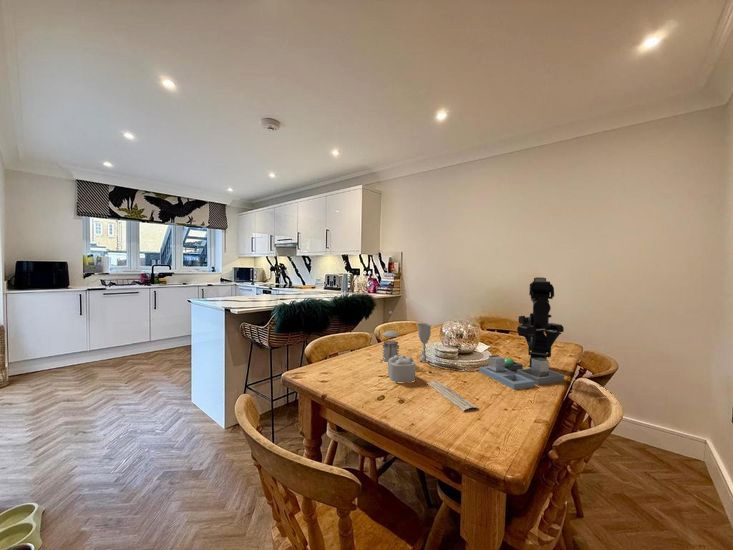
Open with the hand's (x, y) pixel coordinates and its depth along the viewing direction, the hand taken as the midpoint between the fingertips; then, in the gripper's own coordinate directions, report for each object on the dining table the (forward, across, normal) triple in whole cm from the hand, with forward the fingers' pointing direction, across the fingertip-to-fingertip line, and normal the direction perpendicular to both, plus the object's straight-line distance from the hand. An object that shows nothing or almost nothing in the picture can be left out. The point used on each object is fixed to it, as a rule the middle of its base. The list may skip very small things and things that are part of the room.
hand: (539, 349), depth 125 cm
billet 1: (+13, +14, -9) cm, 21 cm away
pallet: (+13, +14, -4) cm, 19 cm away
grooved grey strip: (+13, +44, +4) cm, 46 cm away
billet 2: (+12, 0, 0) cm, 12 cm away
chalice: (+13, +34, -36) cm, 51 cm away
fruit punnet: (+13, +54, -18) cm, 59 cm away
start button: (+11, +3, -14) cm, 18 cm away
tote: (+13, 0, 0) cm, 13 cm away
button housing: (+13, +3, -14) cm, 19 cm away
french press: (+13, +51, -37) cm, 65 cm away
